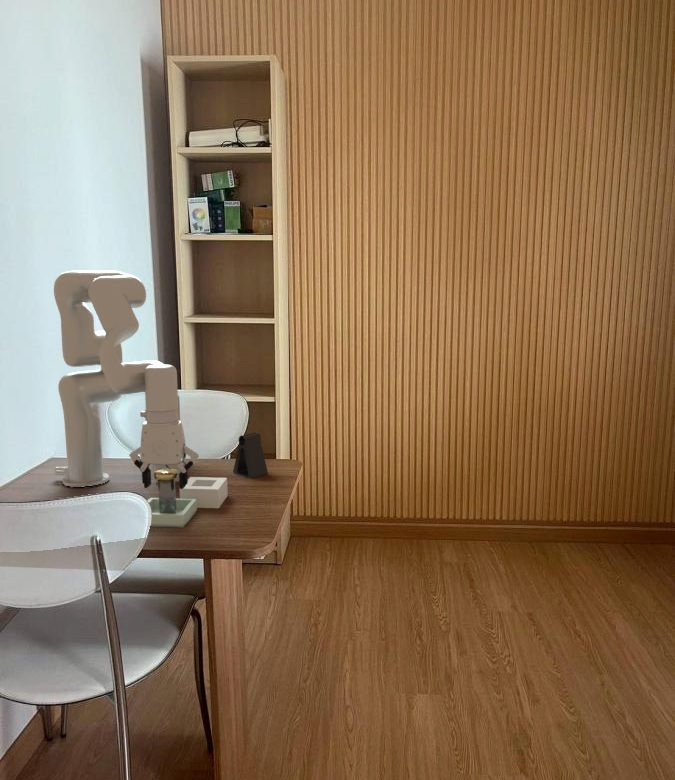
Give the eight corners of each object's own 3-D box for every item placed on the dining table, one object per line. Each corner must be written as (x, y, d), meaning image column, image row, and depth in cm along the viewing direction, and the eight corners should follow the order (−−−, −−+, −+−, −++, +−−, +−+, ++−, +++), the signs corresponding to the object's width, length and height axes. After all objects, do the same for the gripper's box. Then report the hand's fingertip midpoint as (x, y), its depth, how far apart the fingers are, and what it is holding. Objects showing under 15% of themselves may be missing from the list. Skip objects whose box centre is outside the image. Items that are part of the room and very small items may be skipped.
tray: (134, 526, 172) (133, 513, 171) (150, 509, 184) (150, 497, 183) (183, 527, 171) (183, 515, 170) (197, 510, 183) (196, 499, 182)
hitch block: (180, 507, 185) (179, 488, 184) (191, 494, 195) (190, 476, 194) (218, 508, 184) (218, 489, 183) (227, 495, 194) (227, 477, 193)
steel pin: (153, 519, 175) (150, 475, 173) (160, 511, 180) (158, 468, 178) (175, 520, 174) (173, 475, 172) (182, 512, 180) (180, 468, 178)
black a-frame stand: (232, 472, 215) (231, 433, 213) (248, 468, 220) (247, 430, 217) (252, 478, 209) (251, 438, 207) (268, 474, 214) (267, 435, 211)
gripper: (121, 419, 170) (124, 490, 173) (193, 420, 168) (196, 492, 171) (132, 412, 177) (135, 481, 180) (202, 413, 176) (204, 483, 179)
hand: (165, 486), depth 176 cm, fingers open, 8 cm apart
